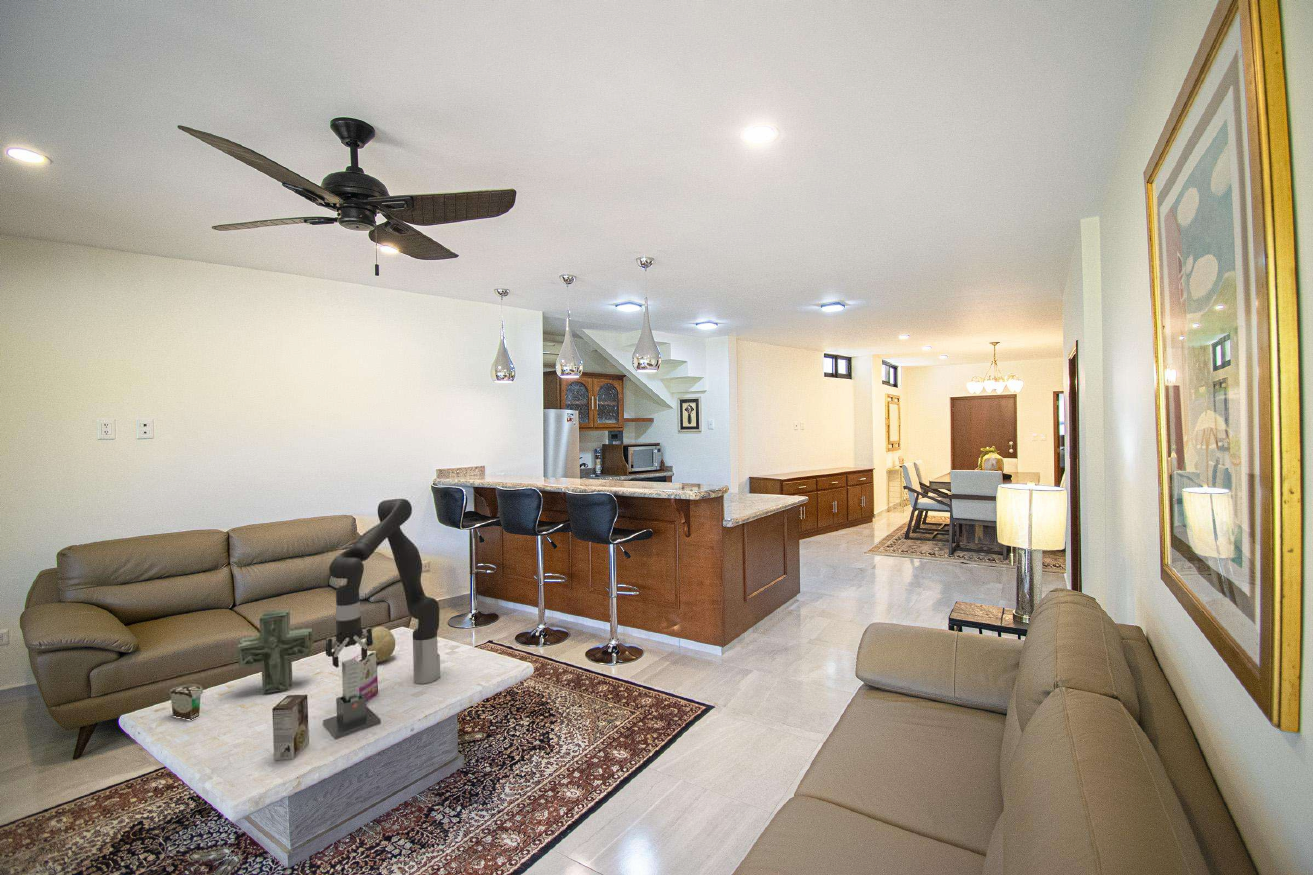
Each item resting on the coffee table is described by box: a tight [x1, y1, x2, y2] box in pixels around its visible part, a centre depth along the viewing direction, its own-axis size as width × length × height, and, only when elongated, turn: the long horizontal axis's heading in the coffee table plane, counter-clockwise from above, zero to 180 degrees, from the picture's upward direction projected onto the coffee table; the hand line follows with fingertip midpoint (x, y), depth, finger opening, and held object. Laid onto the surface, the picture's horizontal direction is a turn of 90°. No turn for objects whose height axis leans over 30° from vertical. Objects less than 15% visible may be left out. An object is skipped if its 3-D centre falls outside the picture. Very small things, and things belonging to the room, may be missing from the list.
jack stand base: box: [322, 692, 382, 740], centre depth 200 cm, size 14×14×10 cm
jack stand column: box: [341, 657, 360, 703], centre depth 200 cm, size 4×4×16 cm
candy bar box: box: [351, 651, 379, 702], centre depth 218 cm, size 11×5×16 cm, turn 168°
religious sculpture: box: [237, 608, 314, 695], centre depth 229 cm, size 24×12×30 cm, turn 114°
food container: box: [168, 683, 204, 721], centre depth 209 cm, size 12×6×10 cm, turn 71°
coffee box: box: [271, 694, 310, 761], centre depth 183 cm, size 9×6×16 cm
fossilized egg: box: [363, 626, 396, 663], centre depth 255 cm, size 13×13×15 cm
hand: (350, 663), depth 199 cm, fingers open, 8 cm apart
